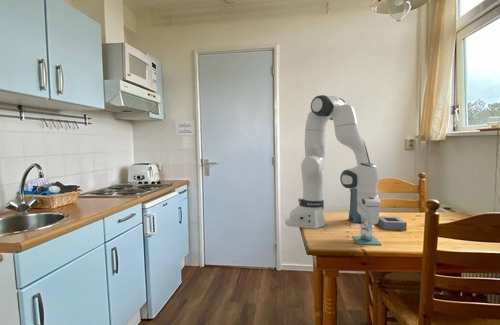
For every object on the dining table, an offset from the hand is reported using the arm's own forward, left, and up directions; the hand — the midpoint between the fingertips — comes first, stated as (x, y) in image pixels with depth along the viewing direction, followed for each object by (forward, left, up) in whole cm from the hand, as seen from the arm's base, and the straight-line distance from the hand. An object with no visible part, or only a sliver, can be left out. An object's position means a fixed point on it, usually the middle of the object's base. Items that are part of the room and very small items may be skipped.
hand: (366, 227), depth 126 cm
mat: (0, 0, -6) cm, 6 cm away
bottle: (+5, +34, -7) cm, 35 cm away
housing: (+20, +24, -6) cm, 32 cm away
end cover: (0, 0, -6) cm, 6 cm away
